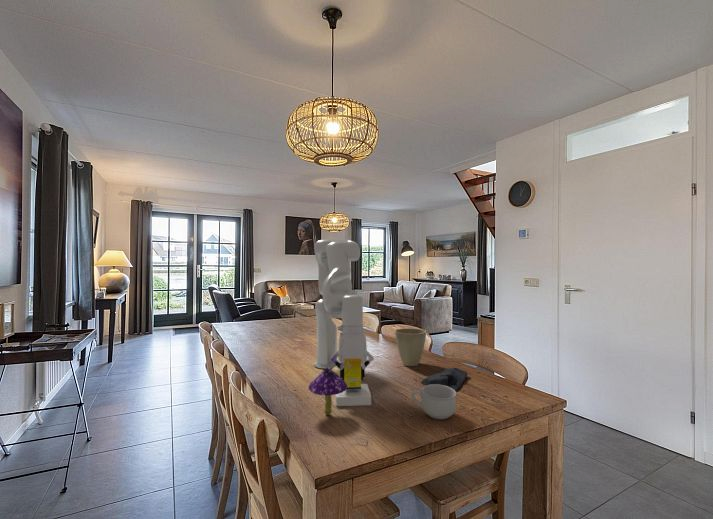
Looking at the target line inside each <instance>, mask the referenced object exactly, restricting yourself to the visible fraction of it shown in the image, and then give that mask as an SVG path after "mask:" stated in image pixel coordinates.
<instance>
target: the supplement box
mask: <svg viewBox="0 0 713 519" xmlns="http://www.w3.org/2000/svg"><path fill="white" fill-rule="evenodd" d="M344 381H345V382H346V384H347V389H346V390H350V389H361V384H362V381H361V358H351V359H345V363H344Z"/></svg>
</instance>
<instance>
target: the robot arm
mask: <svg viewBox="0 0 713 519" xmlns="http://www.w3.org/2000/svg"><path fill="white" fill-rule="evenodd" d="M313 251H314V256H315V260H316V262H317V267H318V277H317V278H318V282H317V283H318V293H319V294H320V295H321V296H322V298H320V299H318V300H317V301H316V302H315V305H314V310H315V316H316V360H315V361H314V362H313V366H314V367H316V368H317V369H324V370H325V369H326V368H331V369H333V368H334V367H336V366H337V367H338V368H339V369H340V377H341V378H342V380H344V363H345V359H351V358H361V382H362V381H364V378H365V376H366V372H365V370H366V368H367V367H368V366H369V365H370V363H371V362H373V361H374V359H375V358H374V356H373V355H372V354H371V353H370V352H369V351H368V349H367V348H368V345H367V337H366V333H365V332H363V330H364V326H363V325H364V323H363V322H364V319H363V318H364V317H363V316H364V313H363V312H364V309H363V308H364V307H363V306H364V301H363V296H361V295H359V293H357V292H353V284H352V280H351V278H350V277H349V276H350V275H351V266H350V265H351V264H350V262H357V261H358V260H359V259H360V257H361V249H360V246H359V244H358V243H357V242H356V241H353V240H350V239H320V240H317V241H316V242H315V244H314V250H313ZM333 319H341V325H339V326H337V325H336V323H334V321H333ZM338 331H341V332H340V333H339V337H338ZM367 357H368V358H367Z"/></svg>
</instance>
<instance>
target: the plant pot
mask: <svg viewBox="0 0 713 519" xmlns="http://www.w3.org/2000/svg"><path fill="white" fill-rule="evenodd" d="M394 334H395V340H396V345H397V349H398V352H399V356H400V359H401V362H402V364H403V365H404V366H407V367H417V366H419V364H420V361H421V359H422V356H423V352H424V349H425V343H426V335H427V331H426V330H425V329H423V328H421V329H420V328H414V327H413V328H411V327H410V328H409V327H408V328H407V327H405V328H398V329H395V330H394Z"/></svg>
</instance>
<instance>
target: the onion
mask: <svg viewBox="0 0 713 519" xmlns="http://www.w3.org/2000/svg"><path fill="white" fill-rule="evenodd" d="M331 369H332V370H333V371H334V372H335V373H336V374H338V375H339V376H340V369H339V368H338V367H337V366H336V367H334V368H331Z"/></svg>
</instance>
